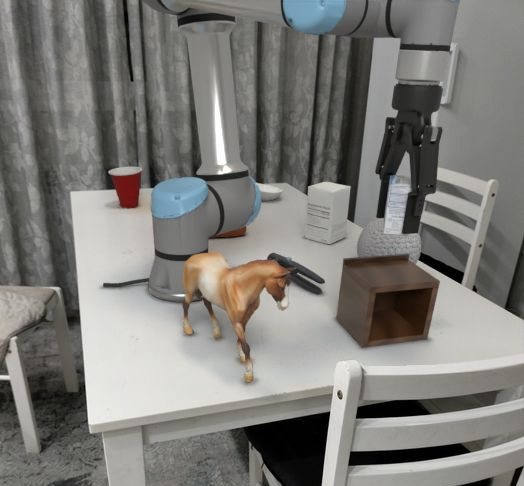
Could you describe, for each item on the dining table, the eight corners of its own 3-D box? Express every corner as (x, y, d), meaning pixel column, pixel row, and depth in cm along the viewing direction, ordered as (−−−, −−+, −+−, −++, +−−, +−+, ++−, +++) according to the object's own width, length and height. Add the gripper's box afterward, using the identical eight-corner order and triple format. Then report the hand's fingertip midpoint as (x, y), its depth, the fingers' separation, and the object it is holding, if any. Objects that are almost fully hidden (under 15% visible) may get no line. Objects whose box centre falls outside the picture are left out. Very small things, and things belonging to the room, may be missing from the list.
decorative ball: (374, 292, 120) (384, 228, 113) (342, 269, 132) (349, 210, 125) (428, 284, 125) (440, 222, 118) (392, 263, 137) (401, 205, 130)
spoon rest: (280, 195, 196) (281, 175, 192) (283, 203, 186) (285, 182, 182) (216, 194, 194) (216, 174, 190) (216, 202, 184) (216, 181, 180)
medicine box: (408, 237, 90) (417, 185, 86) (382, 234, 91) (390, 183, 86) (407, 224, 97) (415, 175, 92) (382, 222, 97) (390, 174, 93)
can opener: (259, 274, 127) (260, 252, 125) (280, 268, 131) (281, 246, 129) (310, 299, 116) (312, 275, 113) (332, 291, 120) (334, 268, 117)
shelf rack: (361, 347, 98) (371, 282, 91) (336, 319, 108) (343, 258, 101) (427, 339, 102) (441, 275, 95) (396, 312, 111) (407, 253, 105)
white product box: (320, 231, 159) (325, 180, 152) (345, 237, 154) (352, 185, 147) (303, 237, 153) (307, 185, 145) (329, 245, 148) (334, 191, 141)
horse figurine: (290, 384, 86) (299, 266, 76) (251, 398, 82) (255, 276, 72) (199, 312, 108) (197, 213, 98) (165, 321, 104) (158, 219, 94)
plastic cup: (111, 202, 179) (107, 166, 173) (143, 201, 182) (140, 165, 176) (113, 211, 170) (108, 172, 164) (146, 209, 173) (144, 171, 167)
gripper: (482, 88, 74) (449, 243, 85) (405, 79, 92) (386, 208, 103) (436, 87, 72) (408, 245, 83) (366, 78, 90) (351, 209, 101)
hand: (396, 224), depth 93 cm, fingers closed on medicine box, 9 cm apart
